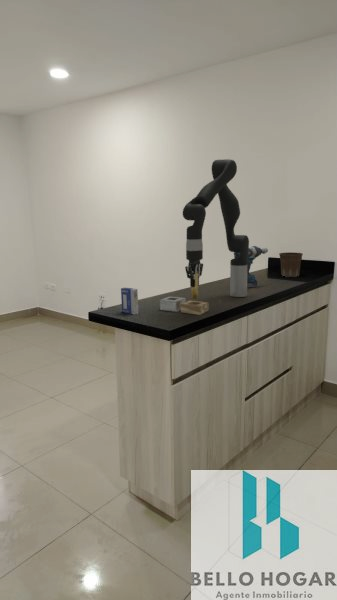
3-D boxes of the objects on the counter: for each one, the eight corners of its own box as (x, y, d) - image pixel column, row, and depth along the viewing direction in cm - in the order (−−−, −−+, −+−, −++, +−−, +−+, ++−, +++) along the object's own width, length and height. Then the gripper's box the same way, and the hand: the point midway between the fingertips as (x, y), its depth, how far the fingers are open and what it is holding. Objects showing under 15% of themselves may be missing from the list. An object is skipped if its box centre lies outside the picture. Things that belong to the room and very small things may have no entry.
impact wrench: (269, 286, 255) (270, 245, 250) (237, 289, 247) (238, 247, 242) (262, 284, 262) (263, 244, 257) (231, 287, 254) (231, 246, 249)
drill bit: (193, 297, 195) (193, 272, 193) (199, 297, 193) (199, 272, 191) (190, 298, 192) (189, 272, 190) (196, 299, 191) (196, 273, 188)
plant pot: (293, 278, 282) (294, 255, 278) (273, 276, 294) (274, 253, 290) (306, 276, 292) (307, 253, 289) (286, 273, 304) (287, 252, 301)
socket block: (169, 306, 207) (169, 296, 205) (185, 307, 202) (185, 298, 201) (160, 309, 199) (160, 299, 198) (176, 311, 194) (176, 301, 193)
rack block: (190, 308, 201) (190, 300, 200) (208, 310, 195) (208, 302, 195) (180, 312, 193) (180, 304, 192) (199, 314, 188) (199, 306, 187)
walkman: (121, 312, 195) (120, 287, 193) (125, 311, 198) (124, 286, 195) (134, 314, 191) (133, 289, 189) (138, 313, 193) (137, 288, 191)
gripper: (194, 247, 196) (194, 283, 200) (179, 250, 184) (180, 288, 188) (208, 248, 192) (208, 284, 196) (194, 250, 180) (194, 289, 184)
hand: (194, 286), depth 192 cm, fingers closed on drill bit, 3 cm apart
